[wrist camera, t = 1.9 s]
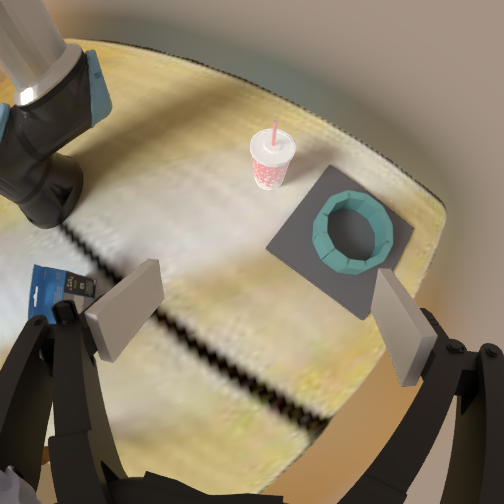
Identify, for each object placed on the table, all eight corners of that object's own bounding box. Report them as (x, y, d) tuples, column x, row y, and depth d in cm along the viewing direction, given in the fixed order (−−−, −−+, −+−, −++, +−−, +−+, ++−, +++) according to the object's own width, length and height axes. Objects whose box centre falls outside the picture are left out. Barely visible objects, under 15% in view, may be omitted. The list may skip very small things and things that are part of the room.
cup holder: (265, 249, 40) (267, 239, 36) (328, 167, 44) (335, 151, 39) (361, 320, 38) (375, 319, 33) (410, 230, 41) (426, 220, 36)
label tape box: (92, 333, 37) (45, 334, 25) (74, 329, 37) (26, 327, 25) (97, 279, 39) (51, 264, 27) (79, 277, 39) (32, 262, 27)
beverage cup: (283, 198, 42) (296, 147, 29) (245, 189, 43) (243, 135, 29) (291, 166, 44) (305, 110, 30) (255, 158, 44) (257, 100, 31)
